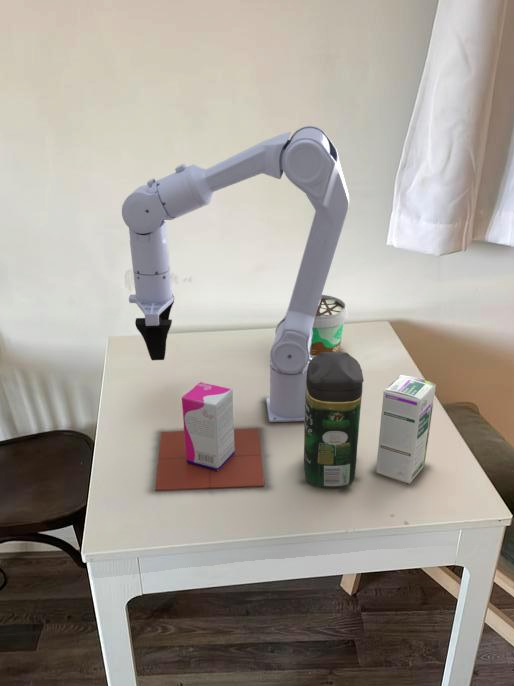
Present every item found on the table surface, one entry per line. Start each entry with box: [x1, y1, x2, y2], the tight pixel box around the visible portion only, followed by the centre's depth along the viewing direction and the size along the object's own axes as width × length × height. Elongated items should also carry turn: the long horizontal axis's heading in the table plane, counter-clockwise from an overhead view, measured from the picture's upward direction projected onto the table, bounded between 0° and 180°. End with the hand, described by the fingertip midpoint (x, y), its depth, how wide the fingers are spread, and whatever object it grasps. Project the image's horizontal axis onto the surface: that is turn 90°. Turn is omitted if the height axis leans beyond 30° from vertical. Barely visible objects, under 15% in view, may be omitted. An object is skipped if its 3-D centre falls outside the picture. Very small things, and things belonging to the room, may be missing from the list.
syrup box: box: [375, 374, 436, 485], centre depth 102 cm, size 6×6×14 cm
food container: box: [310, 294, 349, 358], centre depth 136 cm, size 12×6×10 cm, turn 168°
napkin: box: [155, 428, 265, 492], centre depth 108 cm, size 16×16×1 cm
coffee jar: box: [303, 351, 364, 489], centre depth 100 cm, size 10×8×19 cm
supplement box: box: [181, 381, 235, 471], centre depth 105 cm, size 6×6×12 cm
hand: (159, 349), depth 117 cm, fingers open, 7 cm apart
